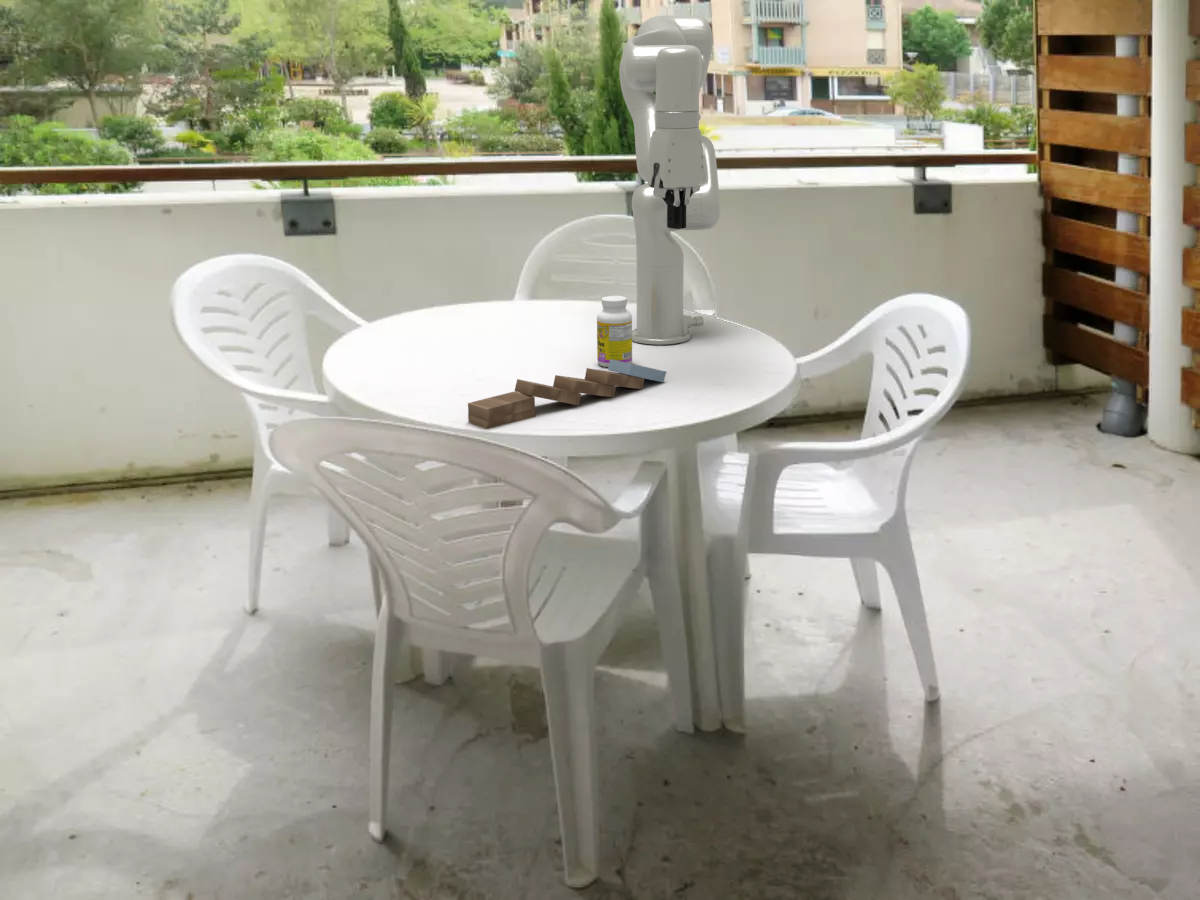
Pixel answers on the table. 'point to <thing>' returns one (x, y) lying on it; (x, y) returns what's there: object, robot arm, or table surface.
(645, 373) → the domino
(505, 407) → the domino
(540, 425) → the table surface
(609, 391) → the domino
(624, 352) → the supplement bottle
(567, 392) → the domino
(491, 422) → the domino
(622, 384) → the domino
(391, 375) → the table surface
